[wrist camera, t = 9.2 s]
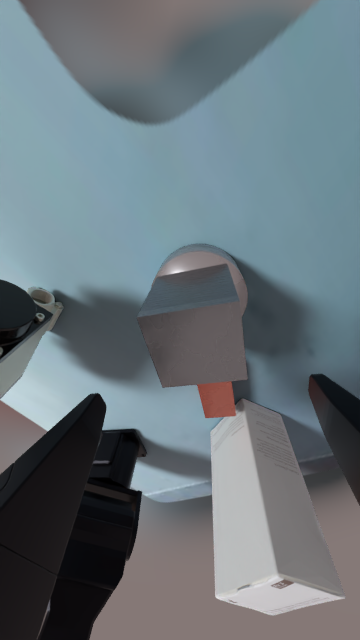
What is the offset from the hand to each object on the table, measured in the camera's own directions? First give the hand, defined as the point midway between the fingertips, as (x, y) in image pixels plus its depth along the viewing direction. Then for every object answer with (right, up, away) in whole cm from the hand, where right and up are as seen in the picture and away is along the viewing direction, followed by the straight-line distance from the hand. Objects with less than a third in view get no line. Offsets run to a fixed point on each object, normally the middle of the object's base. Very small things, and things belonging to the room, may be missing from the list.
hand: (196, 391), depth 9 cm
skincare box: (+8, -10, +19) cm, 23 cm away
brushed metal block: (+1, +4, +8) cm, 9 cm away
